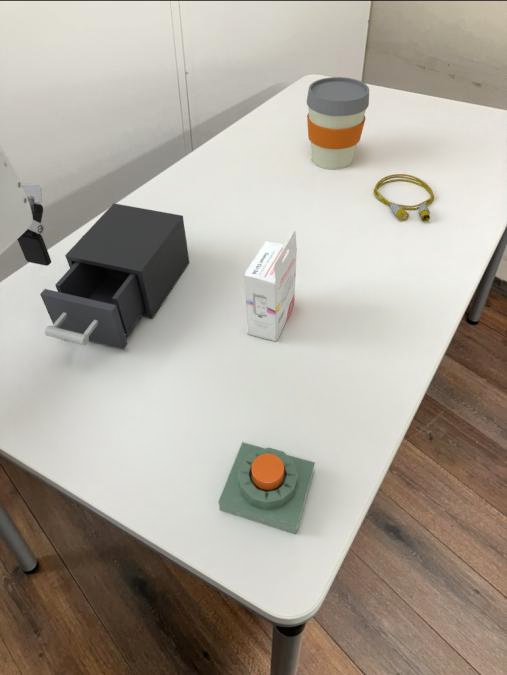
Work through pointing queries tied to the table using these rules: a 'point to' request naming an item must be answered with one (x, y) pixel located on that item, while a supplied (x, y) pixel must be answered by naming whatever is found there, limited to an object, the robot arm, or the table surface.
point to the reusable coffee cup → (336, 120)
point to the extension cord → (399, 209)
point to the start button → (267, 471)
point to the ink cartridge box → (271, 288)
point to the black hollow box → (137, 249)
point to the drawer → (94, 305)
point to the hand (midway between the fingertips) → (14, 287)
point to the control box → (267, 505)
